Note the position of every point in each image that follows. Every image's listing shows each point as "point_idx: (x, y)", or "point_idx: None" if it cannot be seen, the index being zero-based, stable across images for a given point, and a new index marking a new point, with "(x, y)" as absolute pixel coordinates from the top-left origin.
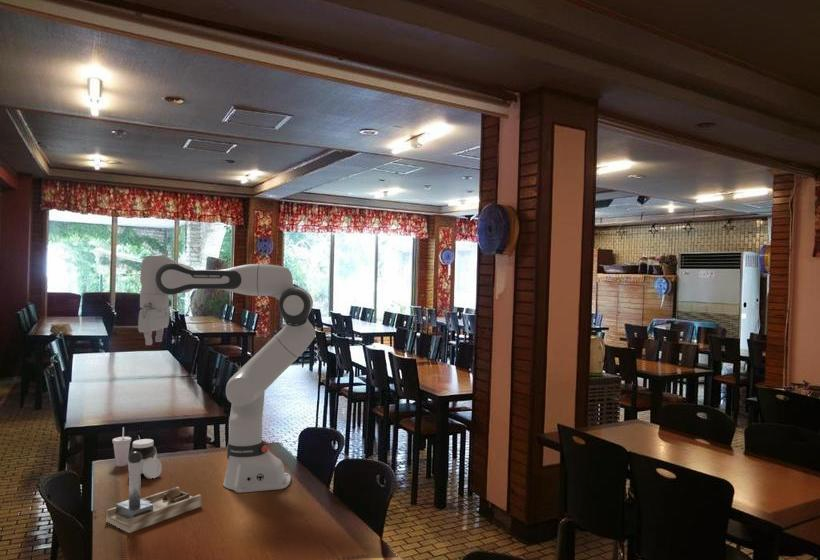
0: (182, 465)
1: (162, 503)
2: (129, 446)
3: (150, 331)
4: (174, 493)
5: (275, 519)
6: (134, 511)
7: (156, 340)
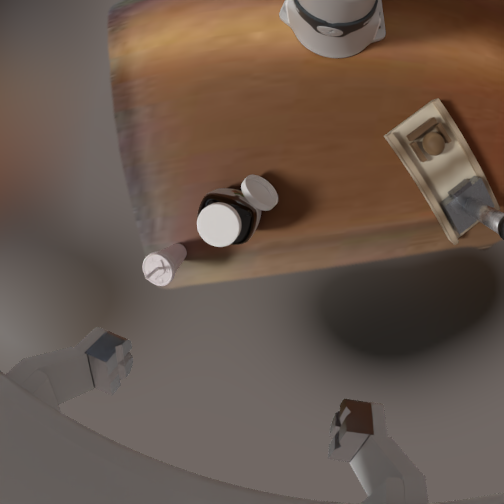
0: (200, 142)
1: (435, 161)
2: (163, 250)
3: (494, 495)
4: (444, 142)
5: (488, 15)
6: (493, 204)
7: (126, 368)
